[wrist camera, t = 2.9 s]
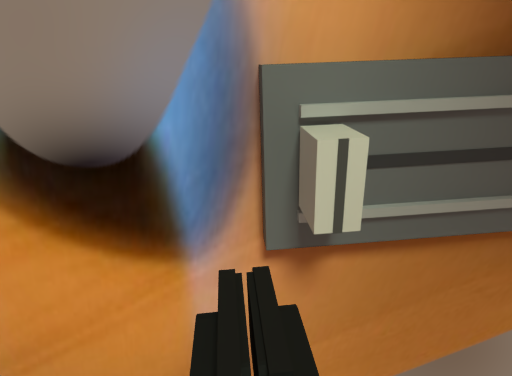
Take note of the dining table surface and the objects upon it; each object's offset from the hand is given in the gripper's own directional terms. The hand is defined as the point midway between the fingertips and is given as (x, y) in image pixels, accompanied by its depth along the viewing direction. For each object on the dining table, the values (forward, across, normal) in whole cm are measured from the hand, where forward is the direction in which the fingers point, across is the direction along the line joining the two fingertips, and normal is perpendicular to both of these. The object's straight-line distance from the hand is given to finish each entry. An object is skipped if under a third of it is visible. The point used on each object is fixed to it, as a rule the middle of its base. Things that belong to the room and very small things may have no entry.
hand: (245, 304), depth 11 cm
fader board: (+15, -16, -1) cm, 22 cm away
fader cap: (+13, -6, -1) cm, 14 cm away
